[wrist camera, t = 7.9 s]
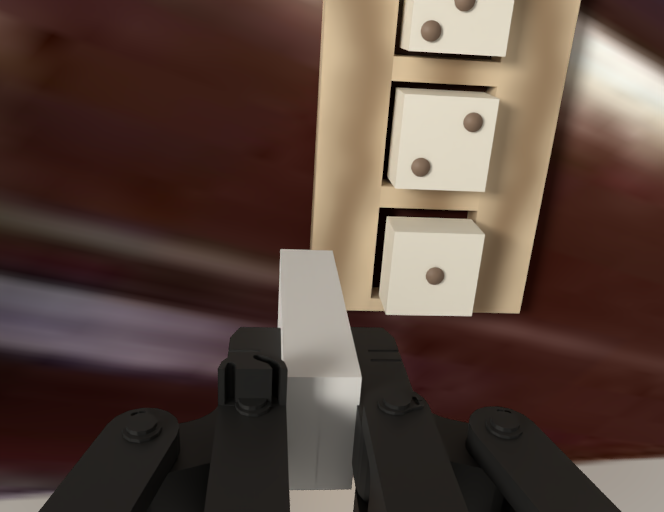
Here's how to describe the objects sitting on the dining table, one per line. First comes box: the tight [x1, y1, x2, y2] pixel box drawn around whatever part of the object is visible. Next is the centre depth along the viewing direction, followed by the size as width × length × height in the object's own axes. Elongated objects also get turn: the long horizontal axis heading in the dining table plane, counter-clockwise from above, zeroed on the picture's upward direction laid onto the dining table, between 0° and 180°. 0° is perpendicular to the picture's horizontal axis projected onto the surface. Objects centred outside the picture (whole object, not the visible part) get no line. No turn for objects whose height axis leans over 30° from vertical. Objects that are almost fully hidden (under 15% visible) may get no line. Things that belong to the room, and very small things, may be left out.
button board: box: [310, 0, 581, 313], centre depth 43 cm, size 16×26×2 cm, turn 176°
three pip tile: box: [399, 0, 514, 57], centre depth 38 cm, size 6×6×3 cm
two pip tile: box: [387, 87, 500, 192], centre depth 41 cm, size 6×6×3 cm
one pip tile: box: [379, 216, 485, 316], centre depth 43 cm, size 6×6×3 cm
